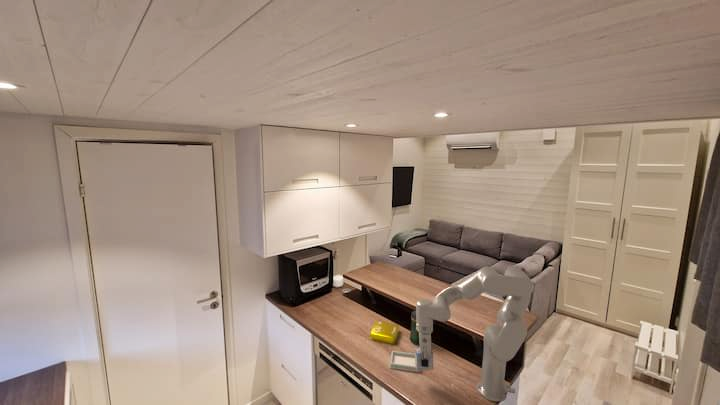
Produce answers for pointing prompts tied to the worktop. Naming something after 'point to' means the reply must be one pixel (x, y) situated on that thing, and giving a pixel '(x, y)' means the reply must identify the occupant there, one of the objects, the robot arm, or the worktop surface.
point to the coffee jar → (414, 330)
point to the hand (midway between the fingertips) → (424, 361)
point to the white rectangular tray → (403, 361)
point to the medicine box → (418, 360)
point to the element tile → (384, 332)
